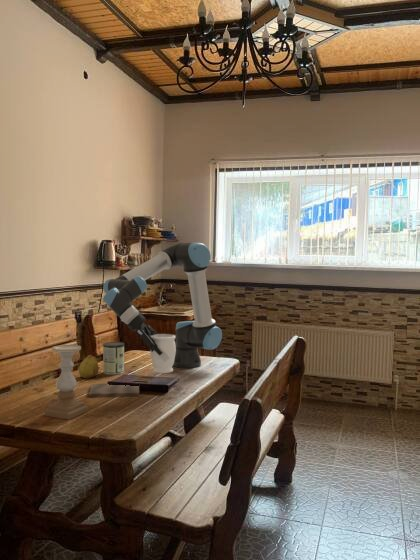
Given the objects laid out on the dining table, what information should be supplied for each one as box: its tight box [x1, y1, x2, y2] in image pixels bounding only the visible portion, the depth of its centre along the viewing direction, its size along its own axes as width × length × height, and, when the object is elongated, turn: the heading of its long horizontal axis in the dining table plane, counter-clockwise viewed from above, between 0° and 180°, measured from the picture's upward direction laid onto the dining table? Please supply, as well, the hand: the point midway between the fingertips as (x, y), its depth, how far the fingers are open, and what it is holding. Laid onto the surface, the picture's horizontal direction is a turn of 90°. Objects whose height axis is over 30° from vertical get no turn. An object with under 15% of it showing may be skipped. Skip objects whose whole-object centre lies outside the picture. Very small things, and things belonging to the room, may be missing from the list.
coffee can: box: [102, 341, 125, 376], centre depth 239 cm, size 10×10×14 cm
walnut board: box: [88, 383, 140, 398], centre depth 207 cm, size 20×16×1 cm
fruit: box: [78, 351, 100, 379], centre depth 229 cm, size 9×9×12 cm
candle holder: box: [44, 344, 89, 421], centre depth 176 cm, size 11×11×24 cm
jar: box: [149, 333, 176, 374], centre depth 207 cm, size 11×10×15 cm
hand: (170, 356), depth 206 cm, fingers closed on jar, 10 cm apart
